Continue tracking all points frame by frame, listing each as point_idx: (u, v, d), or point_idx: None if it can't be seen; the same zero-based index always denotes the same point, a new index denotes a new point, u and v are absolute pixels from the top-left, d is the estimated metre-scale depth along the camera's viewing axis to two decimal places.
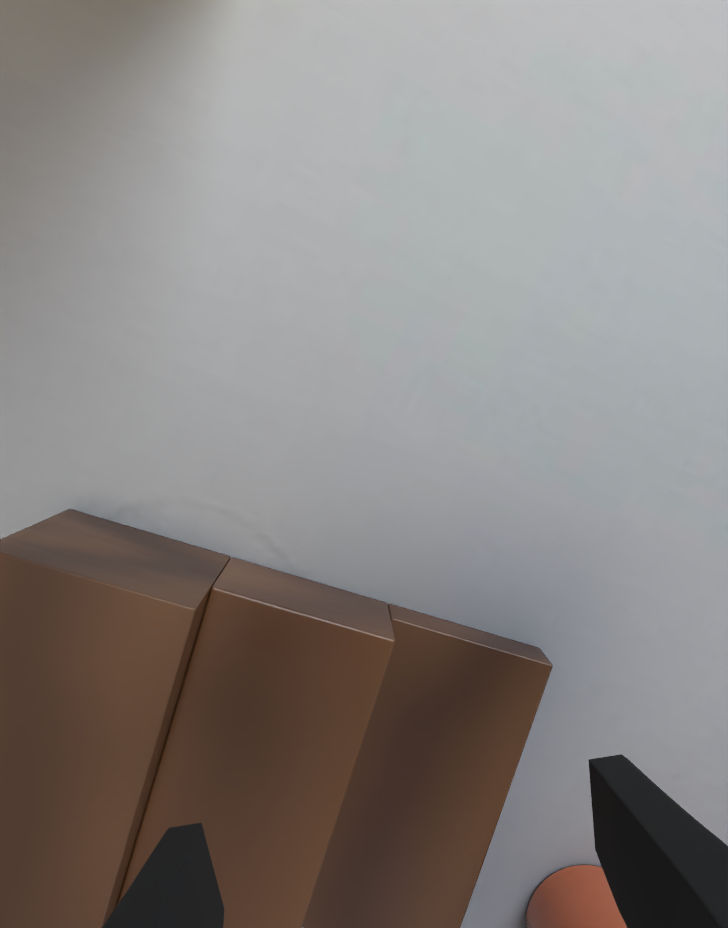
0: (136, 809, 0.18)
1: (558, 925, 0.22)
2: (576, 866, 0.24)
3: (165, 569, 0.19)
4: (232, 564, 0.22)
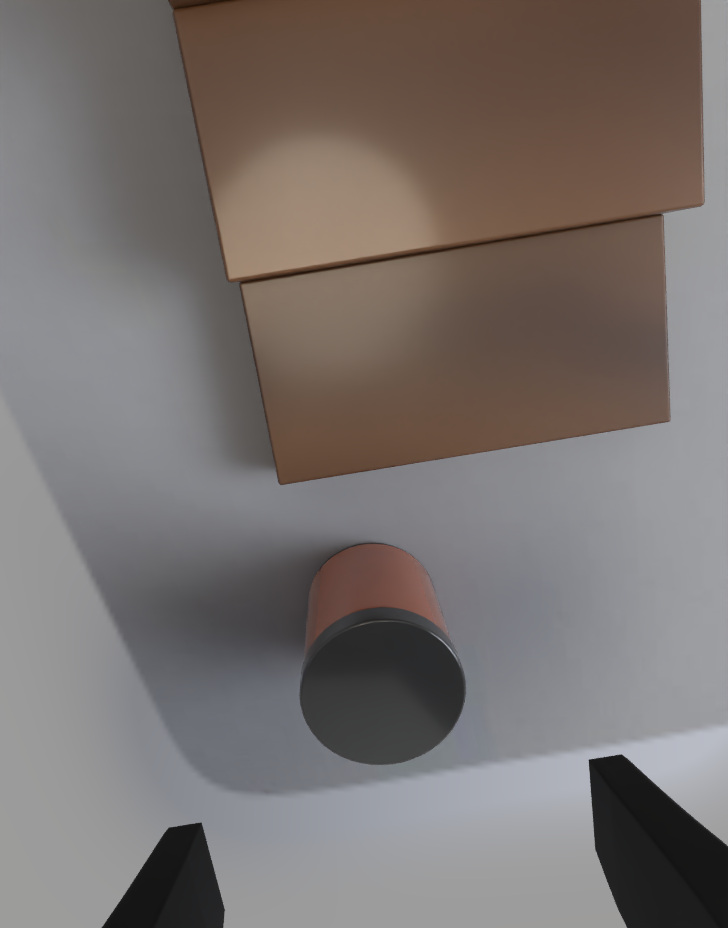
0: None
1: (394, 571, 0.19)
2: (424, 569, 0.21)
3: None
4: None
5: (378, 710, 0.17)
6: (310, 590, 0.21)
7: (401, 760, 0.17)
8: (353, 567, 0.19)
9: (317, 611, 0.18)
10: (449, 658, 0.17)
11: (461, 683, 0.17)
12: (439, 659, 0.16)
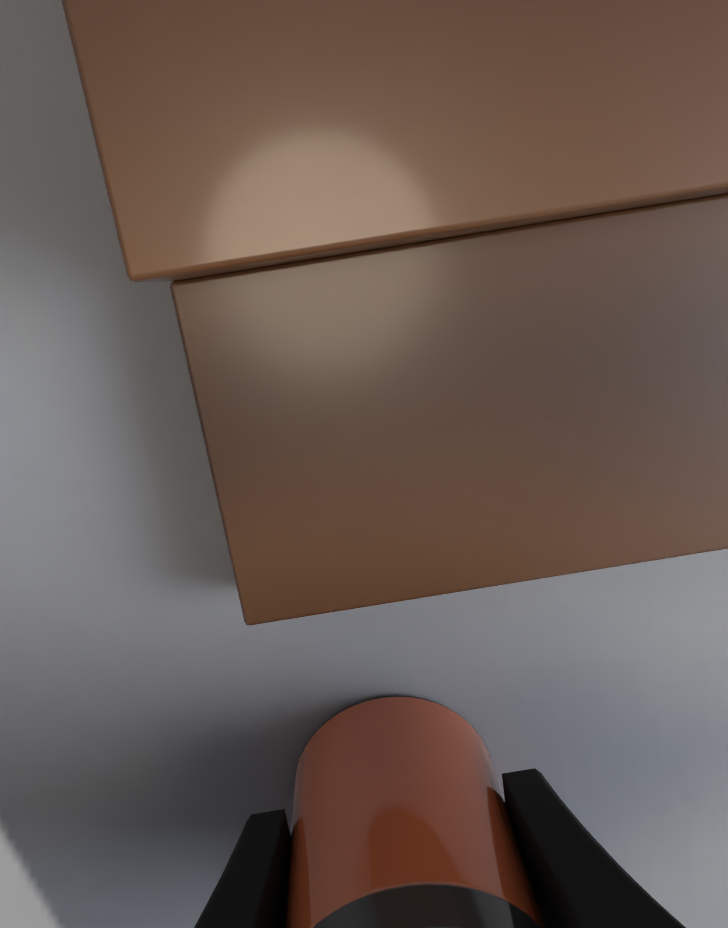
0: None
1: (437, 767, 0.11)
2: (477, 734, 0.13)
3: None
4: None
5: None
6: (297, 771, 0.13)
7: None
8: (368, 755, 0.12)
9: (307, 848, 0.11)
10: None
11: None
12: None
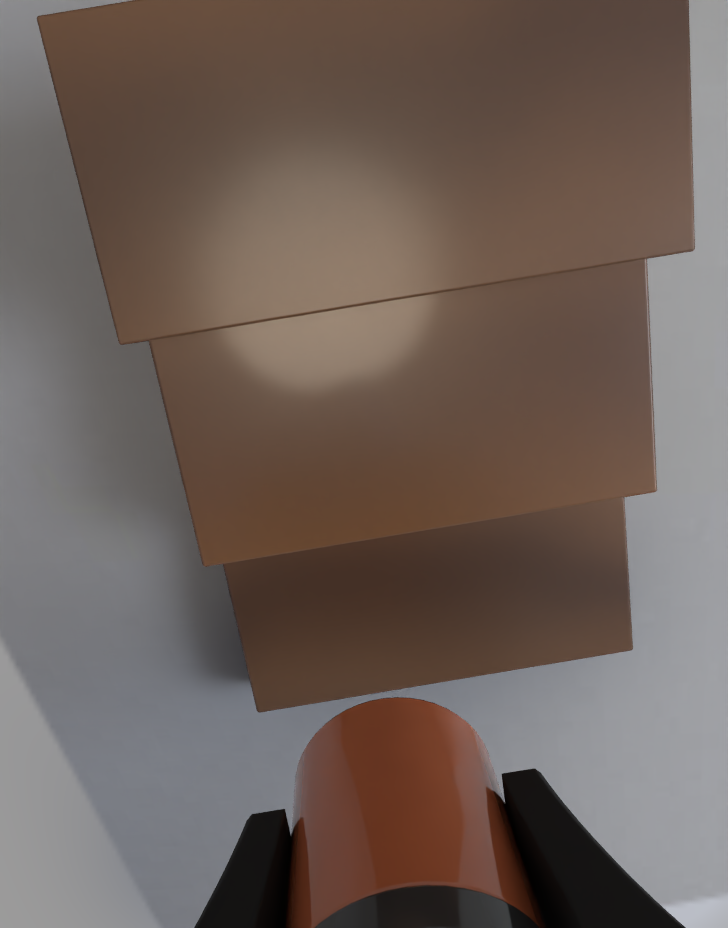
0: (397, 298, 0.13)
1: (437, 768, 0.11)
2: (477, 736, 0.13)
3: None
4: None
5: None
6: (297, 772, 0.13)
7: None
8: (368, 756, 0.12)
9: (307, 849, 0.11)
10: None
11: None
12: None
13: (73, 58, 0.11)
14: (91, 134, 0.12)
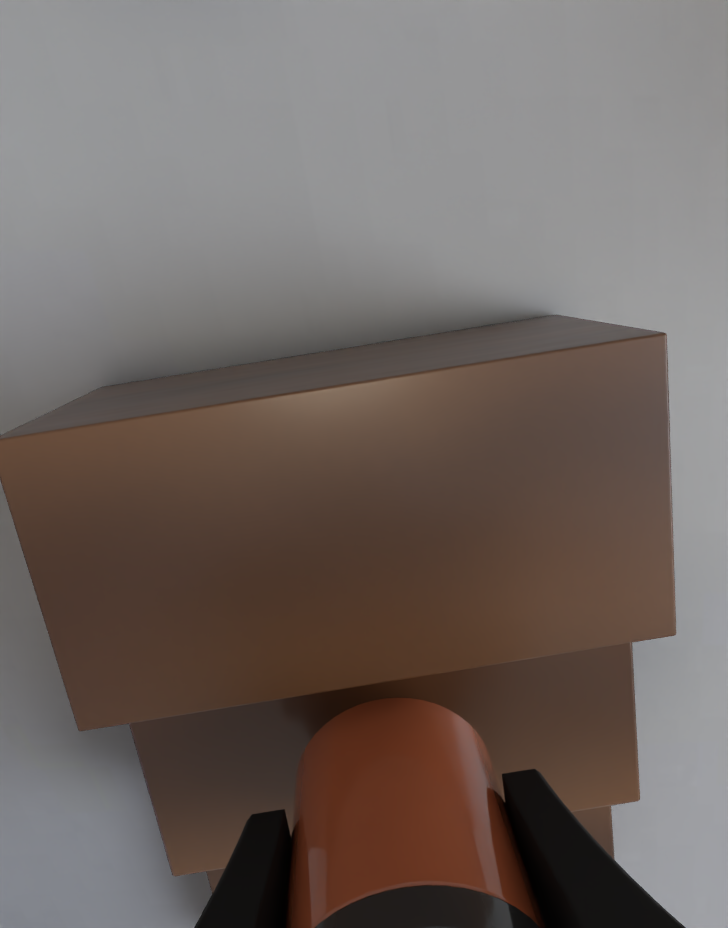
0: (367, 682, 0.12)
1: (437, 768, 0.11)
2: (478, 735, 0.13)
3: None
4: None
5: None
6: (298, 771, 0.13)
7: None
8: (368, 756, 0.12)
9: (307, 849, 0.11)
10: None
11: None
12: None
13: (27, 479, 0.11)
14: (47, 546, 0.11)
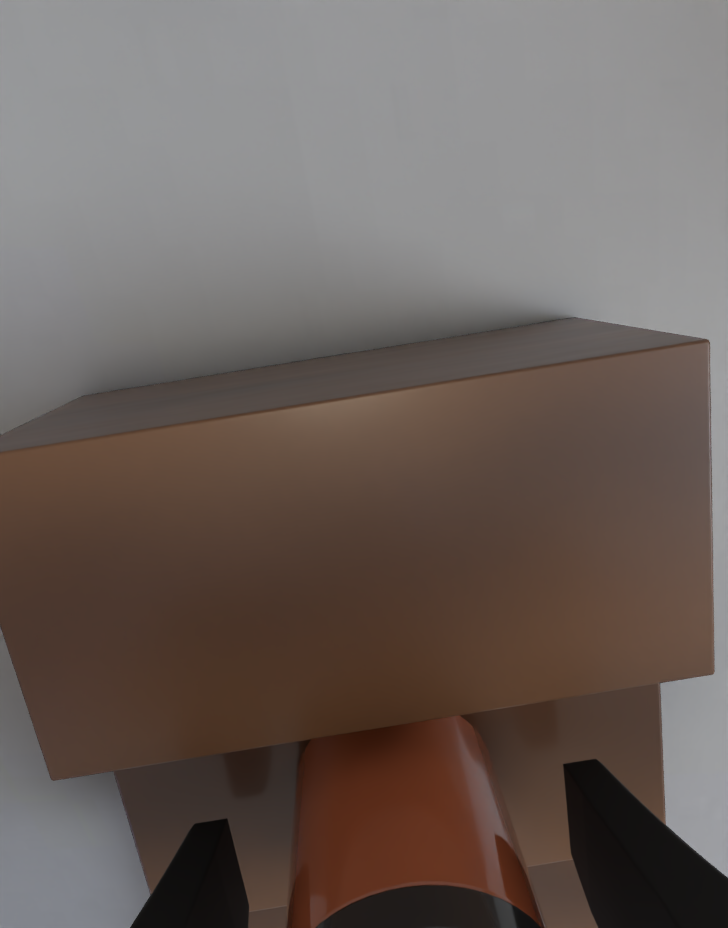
0: (371, 726, 0.11)
1: (438, 768, 0.11)
2: (478, 735, 0.13)
3: None
4: None
5: None
6: (298, 771, 0.13)
7: None
8: (368, 756, 0.12)
9: (308, 849, 0.11)
10: None
11: None
12: None
13: None
14: (13, 578, 0.10)
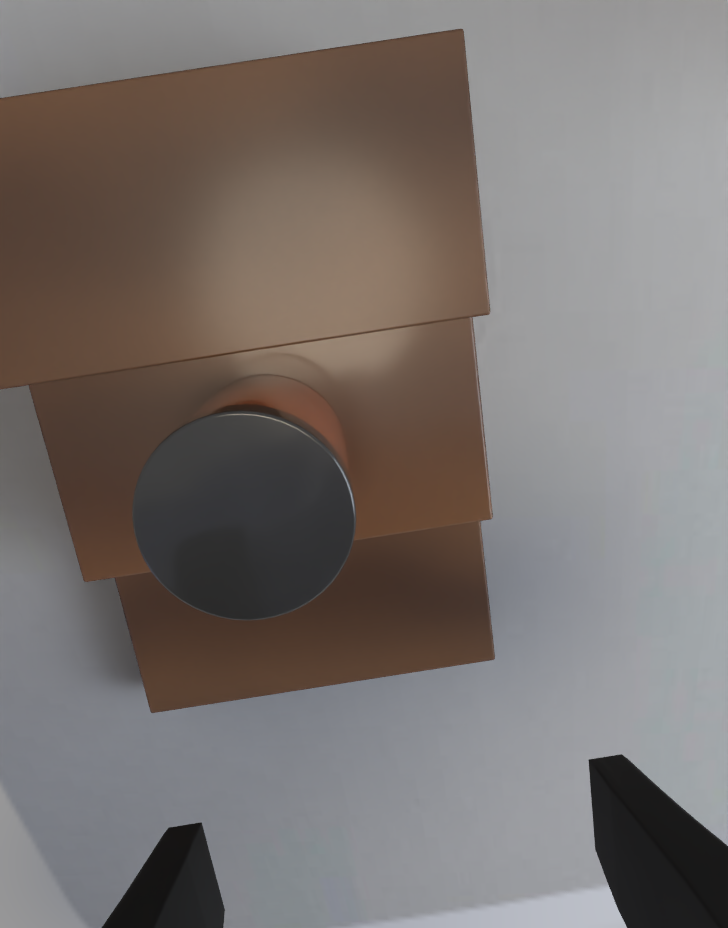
0: (230, 353, 0.15)
1: (282, 389, 0.15)
2: (333, 411, 0.17)
3: None
4: None
5: (239, 542, 0.13)
6: None
7: (273, 614, 0.13)
8: (232, 388, 0.15)
9: None
10: (331, 469, 0.12)
11: (349, 506, 0.12)
12: (318, 470, 0.12)
13: None
14: None
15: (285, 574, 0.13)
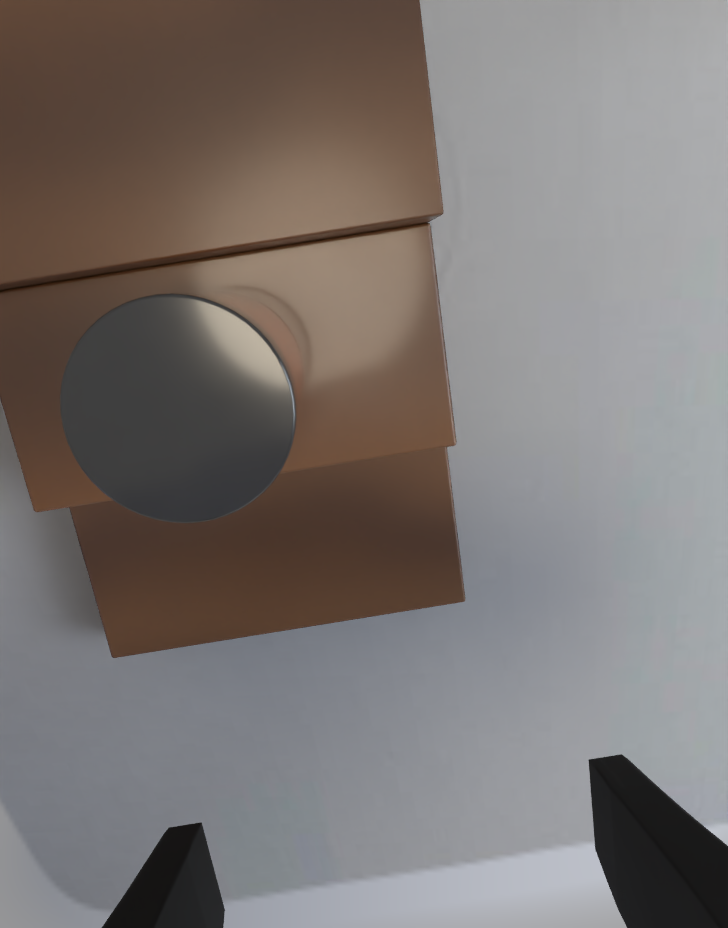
0: (173, 256, 0.14)
1: (228, 296, 0.14)
2: (288, 329, 0.16)
3: None
4: None
5: (173, 437, 0.12)
6: None
7: (211, 516, 0.12)
8: None
9: None
10: (268, 358, 0.12)
11: (288, 398, 0.12)
12: (254, 359, 0.12)
13: None
14: None
15: (223, 472, 0.12)
